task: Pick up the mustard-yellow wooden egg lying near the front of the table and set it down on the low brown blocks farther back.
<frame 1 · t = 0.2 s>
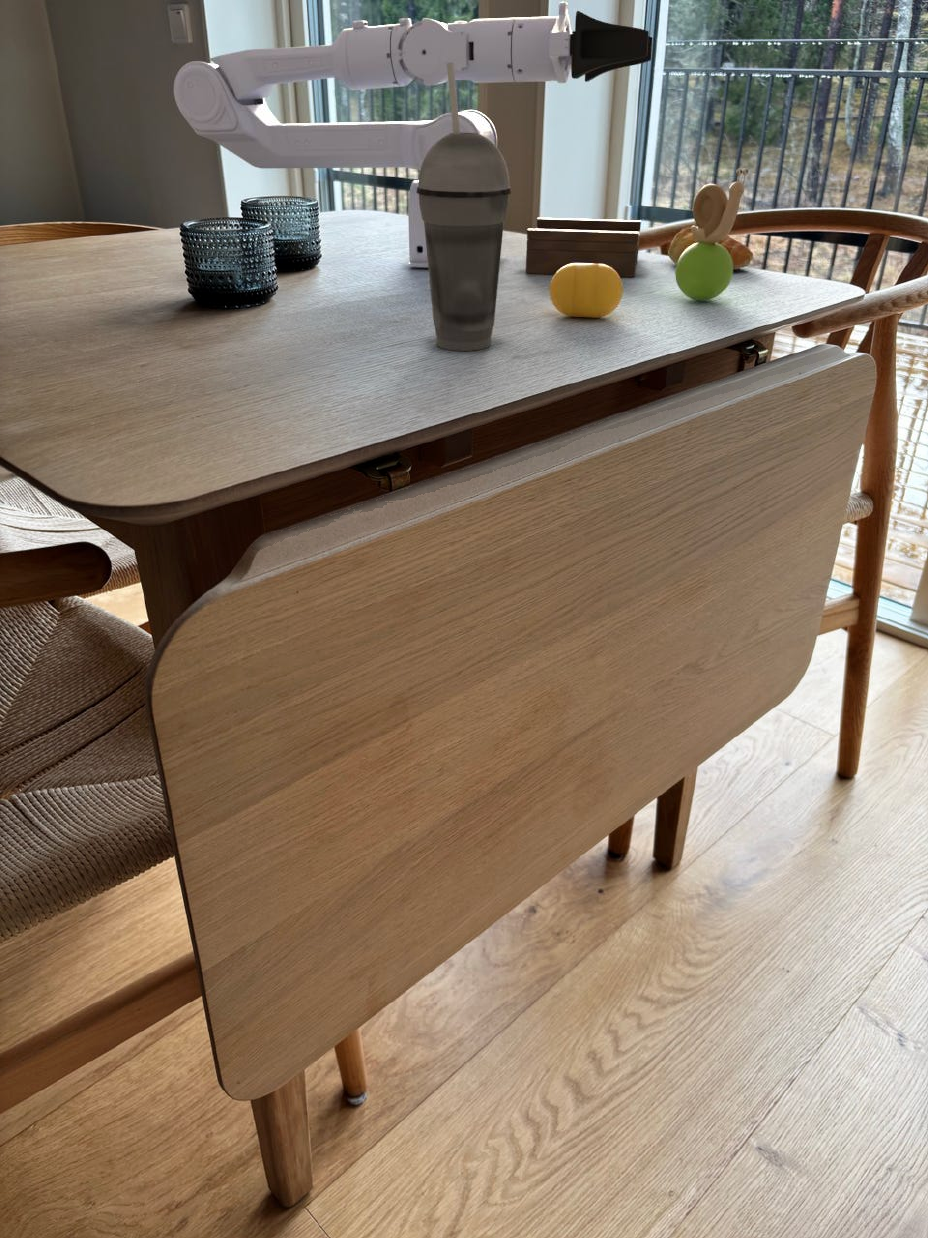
hand: (650, 46, 95), 22 cm above the table, tool horizontal, fingers open, 7 cm apart
beverage cup: (463, 346, 78), on the table
snail figurine: (703, 302, 93), on the table
brown blocks: (583, 267, 108), on the table
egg: (584, 316, 87), on the table
pastry: (706, 267, 109), on the table
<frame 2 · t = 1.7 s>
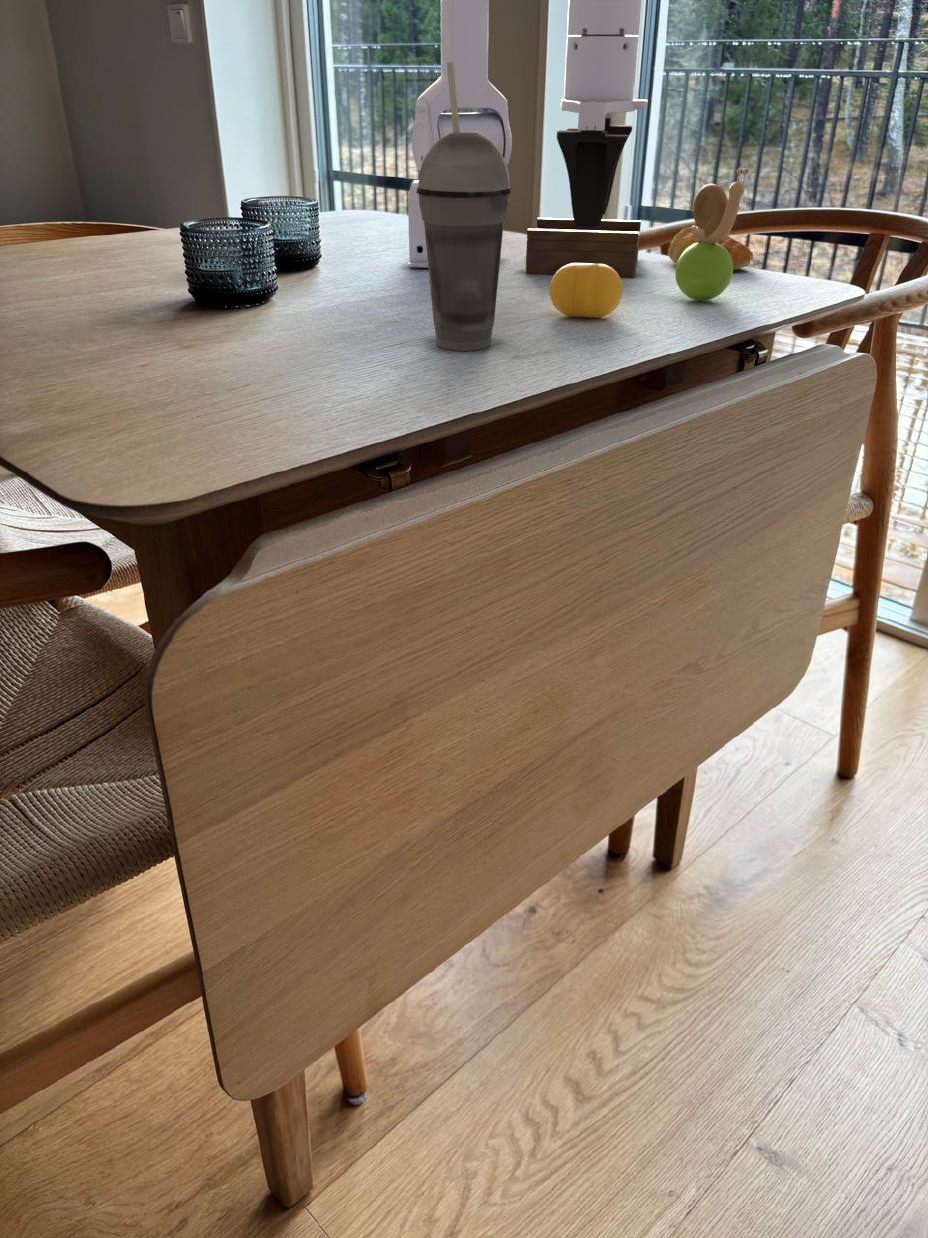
hand: (590, 219, 82), 8 cm above the table, tool pointing down, fingers open, 7 cm apart
nothing on the table moved.
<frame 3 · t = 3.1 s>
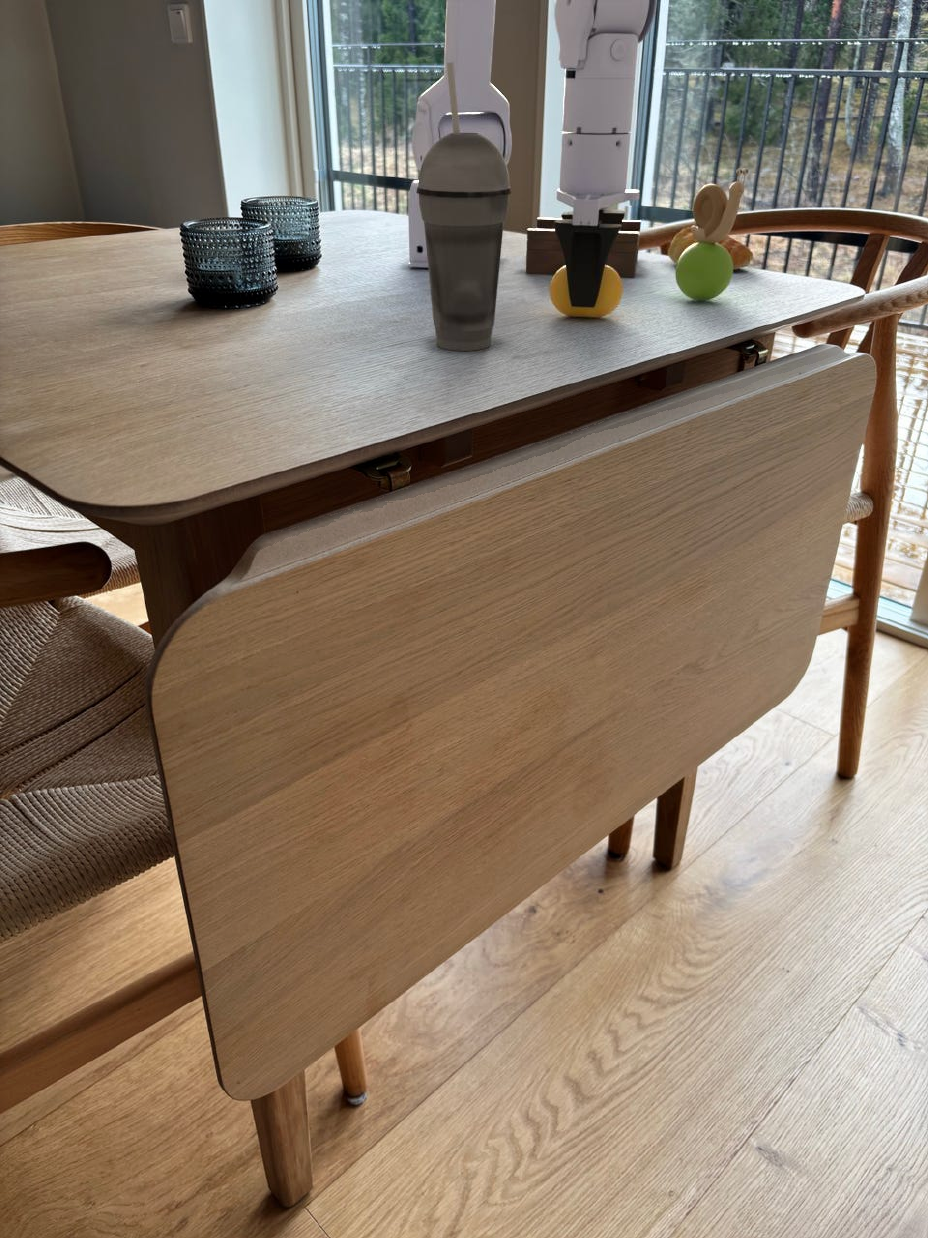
hand: (585, 300, 86), 1 cm above the table, tool pointing down, fingers closed on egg, 4 cm apart
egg: (584, 316, 87), on the table, touching gripper
everything else where it was.
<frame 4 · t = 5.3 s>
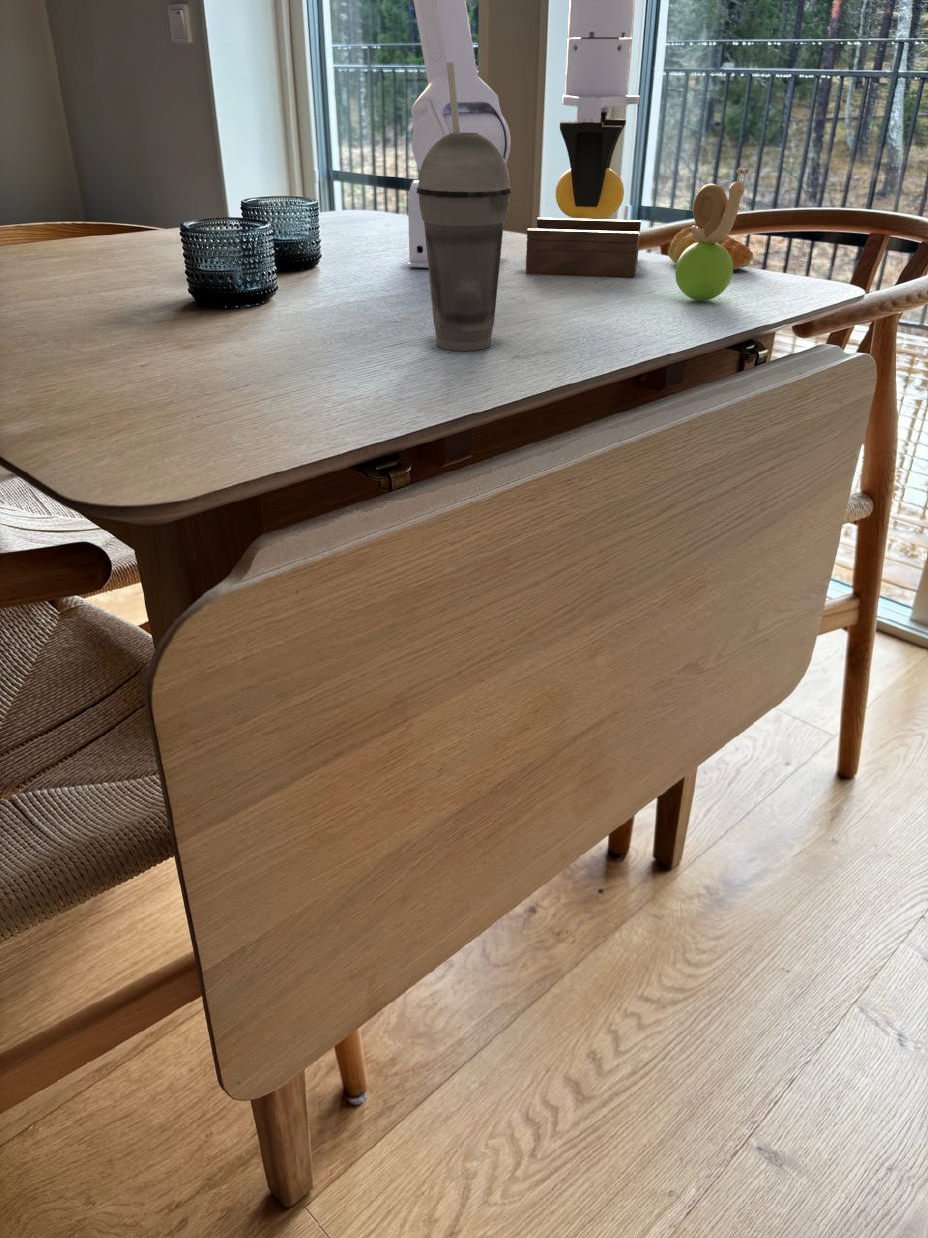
hand: (588, 203, 92), 8 cm above the table, tool pointing down, fingers closed on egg, 4 cm apart
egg: (587, 218, 93), point 7 cm above the table, touching gripper
everything else where it was.
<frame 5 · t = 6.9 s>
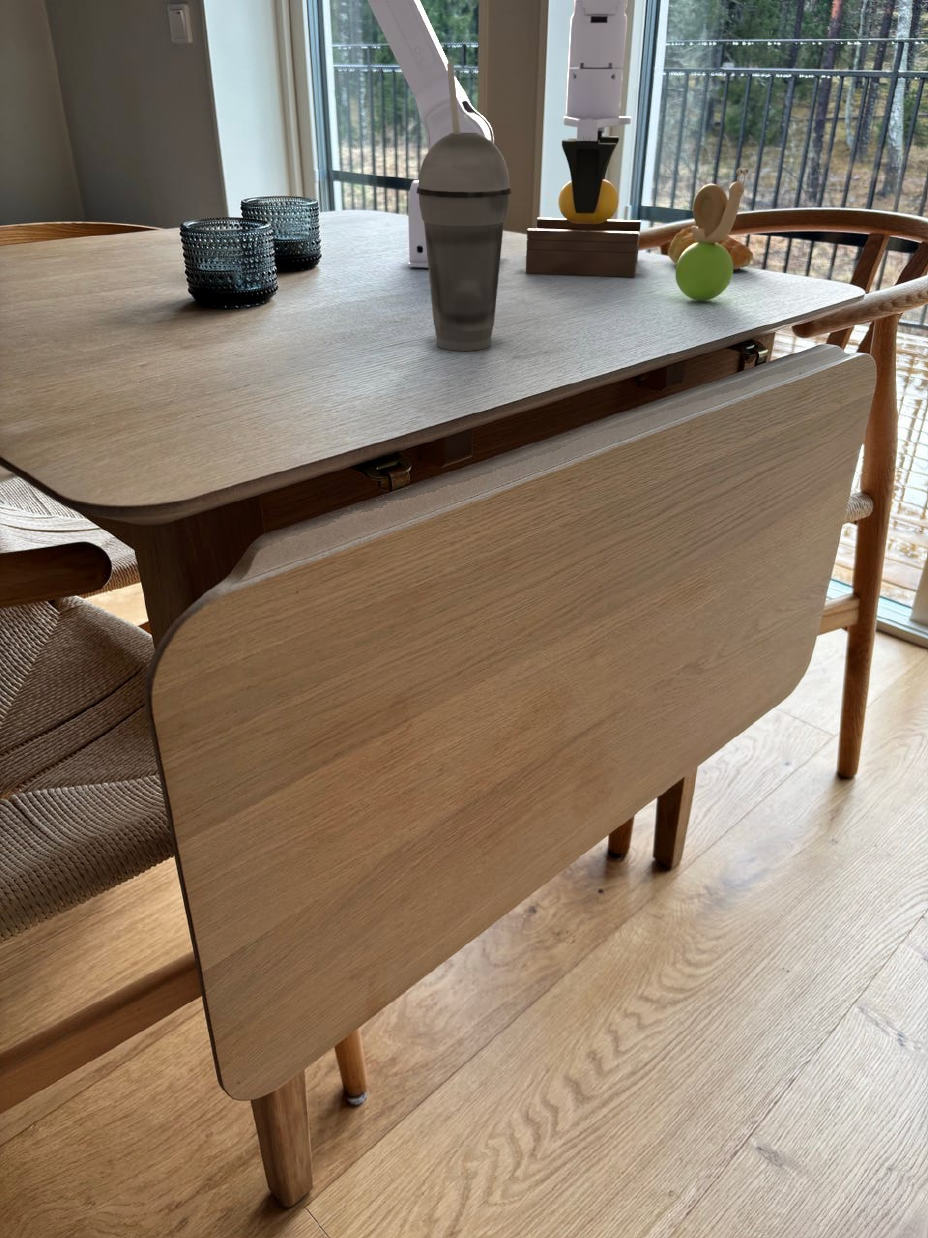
hand: (586, 209, 105), 6 cm above the table, tool pointing down, fingers closed on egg, 4 cm apart
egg: (586, 223, 106), point 5 cm above the table, touching gripper
everything else where it was.
when the fingers open (5 cm above the table, at t = 7.7 s): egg stays where it is, resting on brown blocks.
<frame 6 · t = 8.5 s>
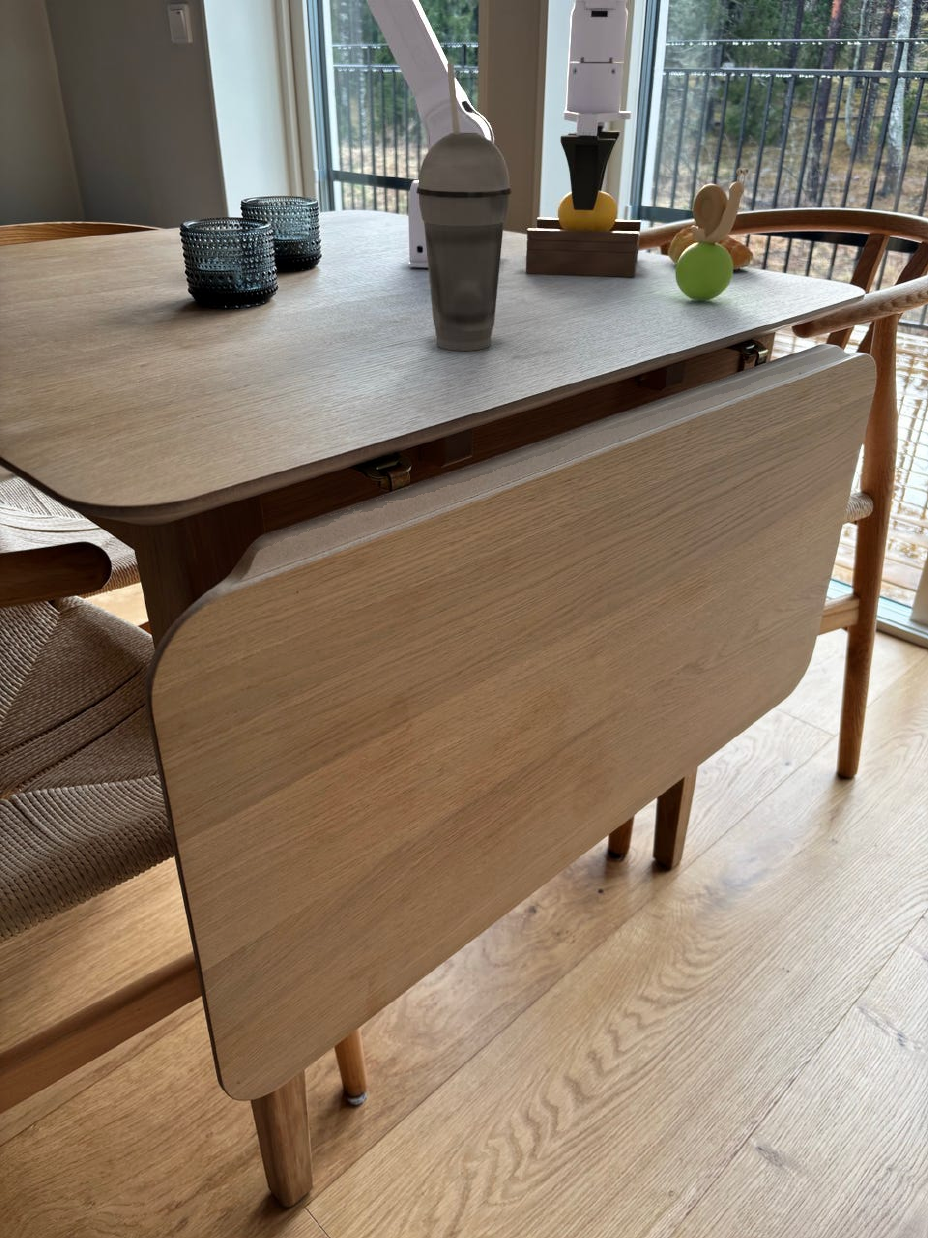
hand: (586, 205, 105), 7 cm above the table, tool pointing down, fingers open, 7 cm apart
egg: (586, 233, 106), point 4 cm above the table, tilted 12°, touching brown blocks
everything else where it was.
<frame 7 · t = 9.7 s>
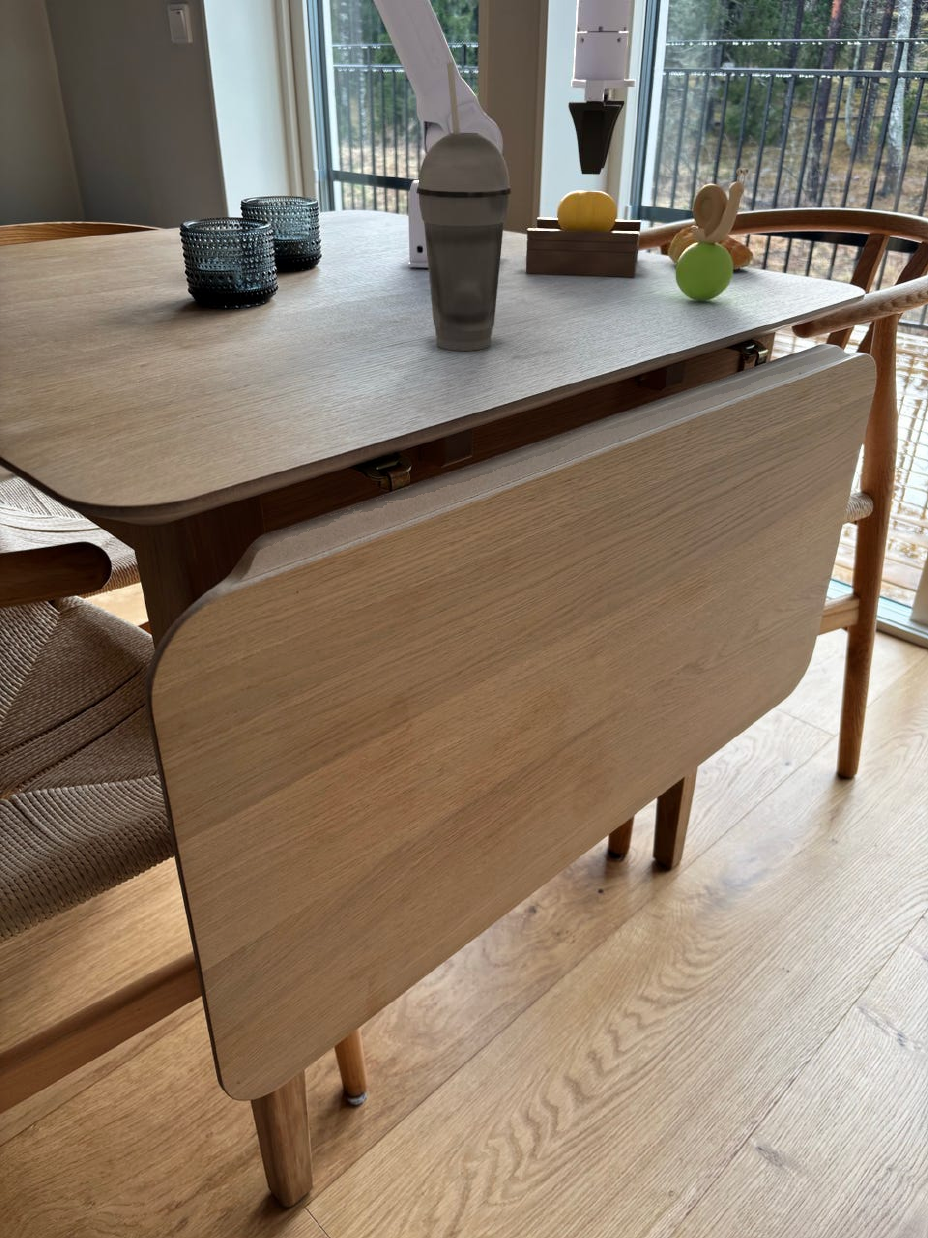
hand: (593, 171, 109), 9 cm above the table, tool pointing down, fingers open, 7 cm apart
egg: (586, 231, 106), point 4 cm above the table, tilted 29°, touching brown blocks
everything else where it was.
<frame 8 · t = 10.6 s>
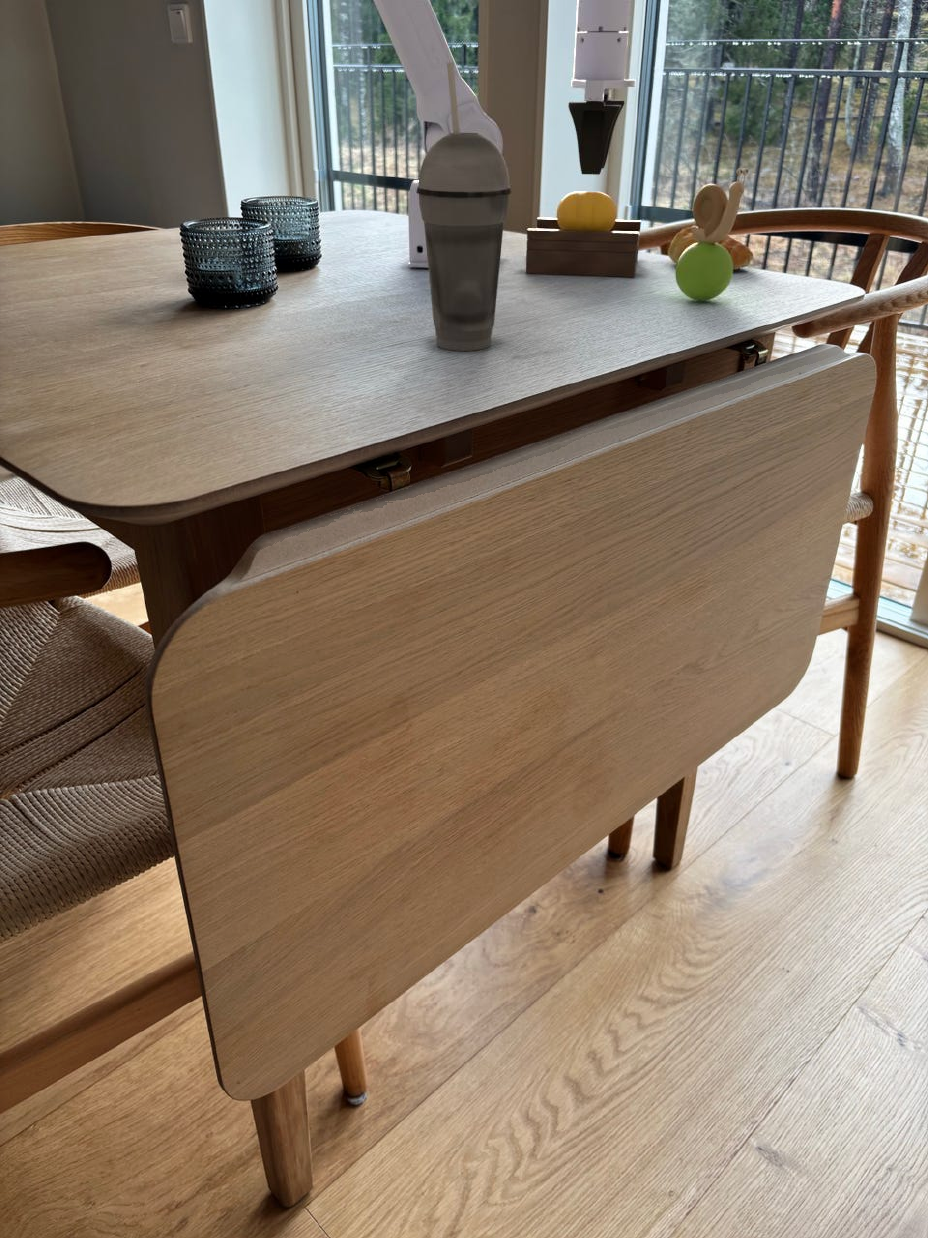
hand: (593, 171, 109), 9 cm above the table, tool pointing down, fingers open, 7 cm apart
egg: (586, 229, 106), point 4 cm above the table, tilted 42°, touching brown blocks
everything else where it was.
at the end: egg inside the target area on the brown blocks (0.1 cm from its centre), point 4.1 cm above the brown blocks's base; the gripper is holding nothing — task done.
